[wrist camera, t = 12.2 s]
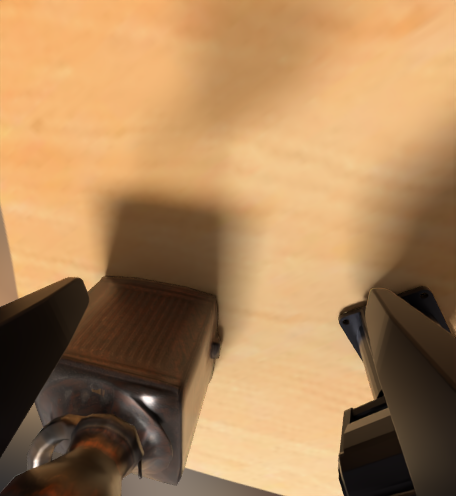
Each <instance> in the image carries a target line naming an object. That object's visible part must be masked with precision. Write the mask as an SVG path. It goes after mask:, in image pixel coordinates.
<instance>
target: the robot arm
mask: <svg viewBox="0 0 456 496" xmlns="http://www.w3.org/2000/svg"><path fill="white" fill-rule="evenodd" d="M422 293H425V294H424V295H421V294H422ZM88 304H89V295H88V292H87V290H86V287H85V285H84V282H83V280H82V279H81V278H77V277H68V278H65V279H63V280H61V281H58V282H56V283H54V284H51V285H49V286H47V287H45V288H42V289H40V290H38V291H35V292H33V293H31V294H29V295H26V296H24V297H22V298H19V299H17V300H15V301H13V302H11V303H8V304H6V305H4V306H1V307H0V458H1V456H2V454H3V453H4V451H5V449H6V448H7V446H8V445H9V443H10V441H11V440H12V438H13V436H14V435H15V433H16V431H17V430H18V428H19V426H20V425H21V423H22V421H23V420H24V418H25V417H26V415H27V413H28V411H29V410H30V408H31V406H32V405H33V403H34V402H35V400H36V398H37V397H38V395H39V393H40V392H41V390H42V388H43V387H44V385H45V384H46V382H47V380H48V379H49V377H50V375H51V374H52V372H53V370H54V369H55V367H56V365H57V364H58V362H59V360H60V359H61V357H62V356H63V354H64V352H65V351H66V349H67V347H68V345H69V344H70V342H71V340H72V338H73V336H74V334H75V332H76V329H77V327H78V325H79V323H80V321H81V319H82V317H83V315H84V313H85V311H86V309H87V307H88ZM338 320H339V324H340V326H341V327H342V329H343V331H344V332H345V334H346V335H347V337H348V339H349V340H350V342H351V343H352V345H353V347H354V348H355V350H356V352H357V353H358V355H359V356H360V358H361V360H362V361H363V363H364V366H365V370H366V374H367V377H368V381H369V384H370V388H371V391H372V395H373V398H374V400H373V401H371V402H368V403H366V404H364V405H361V406H359V407H357V408H354V409H353V408H350V409H348V410H345V411H344V417H343V426H342V435H341V445H340V453H339V458H338V462H339V464H338V471H339V481H340V484H341V487H342V491H343V494H344V496H456V337H455V336H453V335H452V334H451V332H450V330H449V328H448V326H447V324H446V322H445V319H444V317H443V315H442V313H441V311H440V309H439V307H438V304H437V302H436V300H435V298H434V296H433V294H432V292H431V291H430V290H429V288H427V287H423V286H422V287H418V288H415V289H412V290H409V291H407V292H404V293H401V294H398V295H396V294H394V293H393V292H392V291H390V290H389V289H386V288H372V289H371V290H370V292H369V296H368V301H367V306H364V307H361V308H358V309H355V310H353V311H350V312H347V313H344V314H342V315H340V316H339V318H338ZM343 320H348V321H343Z"/></svg>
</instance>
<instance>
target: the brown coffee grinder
mask: <svg viewBox="0 0 456 496" xmlns="http://www.w3.org/2000/svg"><path fill="white" fill-rule="evenodd" d="M88 295H89V304H88V307H87V309H86V311H85V313H84V315H83V317H82V319H81V321H80V323H79V325H78V327H77V329H76V332H75V334H74V336H73V338H72V340H71V342H70V344H69V345H68V347H67V349H66V351H65V352H64V354H63V356H62V357H61V359H60V360H59V362H58V364H57V365H56V367H55V369H54V370H53V372H52V374H51V375H50V377H49V379H48V380H47V382H46V384H45V385H44V387H43V388H42V390H41V392H40V393H39V395H38V397H37V398H36V400H35V405H36V408H37V411H38V414H39V416H40V420H41V422H42V425H43V428H42V430H41V431H40V432H39V433H38V435H37V436H36V437H35V439H34V440H33V442H32V444H31V447H30V449H29V451H28V453H27V471H25V472H23V473H21V474H19V475H17V476H15V477H14V478H13V479H12V480H11V481H10V483H9V484H8V485H7V486H6V487H5V488H4V489H3V490H2V491H1V493H0V496H121V481H122V480H123V478H124V477H126V476H128V475H129V474H131V473H132V474H135V475H138V476H139V479H141V478H142V477H146V478H149V479H153V480H156V481H160V482H163V483H167V484H172V485H177V484H178V482H179V481H180V479H181V477H182V474H183V471H184V468H185V464H186V461H187V457H188V454H189V450H190V447H191V443H192V439H193V436H194V432H195V429H196V425H197V422H198V418H199V415H200V411H201V408H202V404H203V401H204V397H205V394H206V390H207V387H208V384H209V382H210V380H211V379H212V374H213V369H214V363H215V359H217V358H219V354H220V350H221V340H220V338H219V335H218V332H217V326H218V311H217V304H216V297H215V296H213V295H210V294H207V293H204V292H201V291H197V290H194V289H191V288H188V287H183V286H178V285H172V284H167V283H162V282H156V281H151V280H145V279H140V278H133V277H113V276H105V277H102V278H101V280H100V281H99V282H98V283H97V284H96V285H95V286H94V287H92V288H91V289H90V290H89V291H88ZM53 451H55V452H58V453H61V454H64V455H62V456H60V457H59V458H57V459H55V460H52V453H53Z"/></svg>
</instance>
